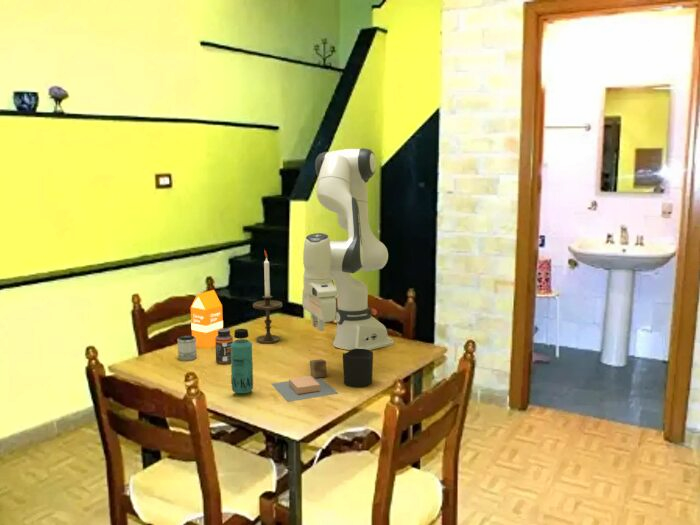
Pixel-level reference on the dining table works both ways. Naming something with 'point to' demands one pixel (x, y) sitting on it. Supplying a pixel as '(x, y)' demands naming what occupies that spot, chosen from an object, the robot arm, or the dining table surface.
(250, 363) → the beverage bottle
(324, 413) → the dining table surface
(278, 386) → the mat
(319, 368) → the block
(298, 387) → the tile
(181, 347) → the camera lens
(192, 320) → the orange juice
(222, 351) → the supplement bottle
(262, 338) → the candlestick
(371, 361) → the pen holder
